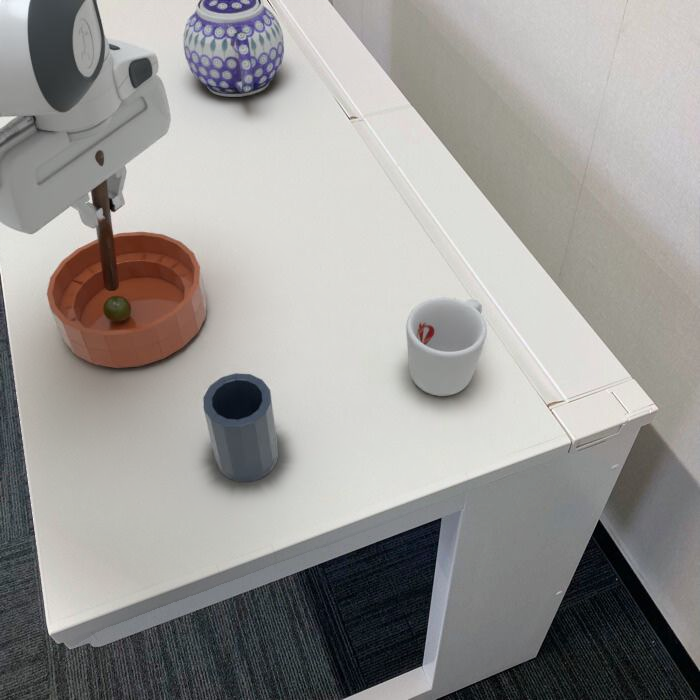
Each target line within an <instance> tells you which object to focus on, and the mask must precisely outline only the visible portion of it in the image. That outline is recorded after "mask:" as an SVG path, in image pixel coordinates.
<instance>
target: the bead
mask: <svg viewBox="0 0 700 700" xmlns="http://www.w3.org/2000/svg"><path fill="white" fill-rule="evenodd" d="M103 311H104V314H105V316H106V318H107V319H109V320H110V321H112V322H116V323H119V322H123V321H125V320H126V319H127V318H128V317H129V316H130V314H131V305H130V303H129V301H128V300H127V299H126V298H124V297H122V296H112V297H110V298H109V299H107V300H106V302H105V303H104V306H103Z"/></svg>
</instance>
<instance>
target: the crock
mask: <svg viewBox="0 0 700 700" xmlns="http://www.w3.org/2000/svg"><path fill="white" fill-rule="evenodd" d="M202 399H203V402H202V403H203V404H202V405H203V412H204V417H205V421H206V424H207V429H208V434H209V438H210V442H211V446H212V450H213V453H214V458H215V462H216V463H217V467H218V469H219V470H220V472H221V473H222V474H223V475H224V476H225V477H226V478H228V479H230V480H232V481H235V482H239V483H250V482H254V481H258V480H260V479H262V478H264V477H266V476H267V475H269V474H270V473H271V472H272V470H274V468H275V466H276V465H277V463H278V459H279V447H278V440H277V430H276V422H275V417H274V409H273V401H272V394H271V389H270V388H269V386H268V385H267V383H266V382H265V381H264V380H263V379H262V378H260V377H258V376H255V375H253V374H252V373H251V374H250V373H237V372H235V373H231V374H228V375H225V376H221V377H220V378H218V379H217V380H216V381H214V382H213V383H211V384H210V385H209V387H208V389H207V391H206V392H205V394H204V395H203V398H202Z"/></svg>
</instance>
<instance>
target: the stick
mask: <svg viewBox="0 0 700 700" xmlns="http://www.w3.org/2000/svg"><path fill="white" fill-rule="evenodd" d="M95 159H96V161H97V163H98V164H99V165H100V166H103V164H104V153H103V151H102V150H99V151H97V152H96V155H95ZM90 196H91V203H92V204H93V205H96V206H99V207H102V210H103V216H104V217H105V220H104V221H103V222H102V223H101V224H99V225H98V226H97V227H96V228H95V231H96V238H97V239H98V246H99V253H100V260H101V267H102V274H103V281H104V287H105V288H106V289H107V290H108V291H115V290H117V289H118V287H119V280H118V271H117V263H116V254H115V246H114V237H113V235H114V229H113V220H112V212H111V210H110V203H109V194H108V186H107V179H106V180H105V181H103V182H102V183H101V184H99V185H98V186H97V187H95V188H94V189H93V190H91V191H90ZM97 239H96V240H97Z"/></svg>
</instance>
